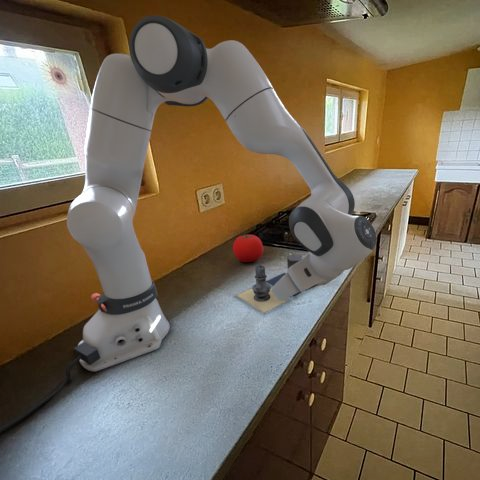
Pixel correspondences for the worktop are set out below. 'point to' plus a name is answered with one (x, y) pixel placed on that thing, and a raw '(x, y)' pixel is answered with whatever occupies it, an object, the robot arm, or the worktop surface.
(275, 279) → the slate mat
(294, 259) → the dark grey cylinder
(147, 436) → the worktop surface
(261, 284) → the grey chess piece
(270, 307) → the oat mat
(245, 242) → the tomato
